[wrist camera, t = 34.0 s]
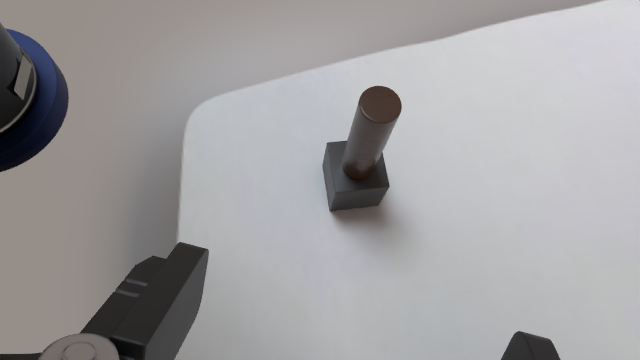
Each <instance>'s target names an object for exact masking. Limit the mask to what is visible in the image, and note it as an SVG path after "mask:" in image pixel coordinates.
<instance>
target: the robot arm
mask: <svg viewBox="0 0 640 360" xmlns="http://www.w3.org/2000/svg"><path fill="white" fill-rule="evenodd" d="M38 92H39V75H38V71H37V68H36V66H35V64H34V62H33V61H32V59H31V58H30V57H29V56H28V54H27V53H26V52H25V51H24V50H23V49H22V48H21V47H20V46H19V45H18V44H17V43H16V42H15V41H14V39H13V38H12V37H11V36H10V34H9V33H8V32H7V31H6V29H5V28H4V27H3V25H2V24H1V23H0V138H1V137H3V136H4V135H6V134H8V133H9V132H10V131H12V130H13V129H15V128H16V127H17V126H18V125H19V124H20V123H21V122H22V121H23V120H24V119H25V118H26V117H27V115H28V114H29V113H30V111H31V110H32V108H33V106H34V104H35V102H36V99H37V96H38ZM208 255H209V251H208V249H205V248H201V247H197V246H194V245H190V244H186V243H182V242H179V243H178V244H177V245H176V247H175V248H174V249H173V251H172V252H171V254H170V255H169V256H168V258H167V259H164V258H160V257H156V256H152V257H150V258H148V259H146V260H144V261H143V262H141V263H139V264H137V265H135V267H134V268H133V269H132V270H131V272H130V273H129V274H128V276H126V278H125V280H124V281H122V283H121V284H120V285H119V286H118V287H117V289H116V291H115V292H113V293H112V295H111V296H110V297H109V298H108V299H107V301H106V302H105V303H104V304H103V305H102V307H101V308H100V309H99V310H98V312H97V313H96V314H95V315H94V316H93V318H92V319H91V320H90V321H89V322H88V324H87V325H86V326H85V327H84V329H83V330H82V331H81V332H80V333H79V334H74V335H69V336H66V337H63V338H61V339H59V340H57V341H55V342H53V343H52V344H50V345H49V346H48V347H47V348H46V349H45V350H44V351H43V352H42V353H35V354H0V360H174V358H175V357H176V355H177V353H178V351H179V349H180V347H181V345H182V343H183V341H184V340H185V338H186V336H187V334H188V332H189V330H190V328H191V326H192V324H193V322H194V320H195V318H196V316H197V313H198V310H199V307H200V303H201V299H202V293H203V287H204V281H205V275H206V268H207V262H208ZM501 360H560V358H559V356H558V353H557V351H556V349H555V347H554V345H553V343H552V341H551V340H550V339H548V338H544V337H540V336H536V335H532V334H528V333H524V332H521V331H518V332H516V333H515V334H514V335H513V337H512V339H511V341H510V343H509V345H508V347H507V349H506V351H505V353H504V355H503V357H502V359H501Z"/></svg>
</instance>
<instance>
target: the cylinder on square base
mask: <svg viewBox="0 0 640 360" xmlns="http://www.w3.org/2000/svg"><path fill="white" fill-rule="evenodd" d="M401 108H402V105H401V101H400V98H399V97H398V95H397V94H396V93H395V92H394V91H393V90H391V89H389V88H387V87H384V86H374V87H371V88H368V89H367V90H365V91H364V92H363V93H362V95H361V97H360V99H359V102H358V106H357V109H356V113H355V116H354V120H353V123H352V127H351V130H350V134H349V137H348V140H347V141H340V142H330V143H327V146H326V151H325V156H324V161H323V172H324V179H325V185H326V191H327V197H328V204H329V210H330V211H336V210H345V209H353V208H361V207H370V206H378V205H379V203H380V202H381V200H382V198H383V197H384V195H385V193H386V192H387V190H388V188H389V182H388V177H387V172H386V167H385V163H384V158H383V153H382V151H383V149H384V147H385V145H386V143H387V141H388V138H389V136H390V134H391V132H392V130H393V128H394V126H395V123H396V121H397V119H398V117H399V115H400V113H401Z"/></svg>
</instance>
